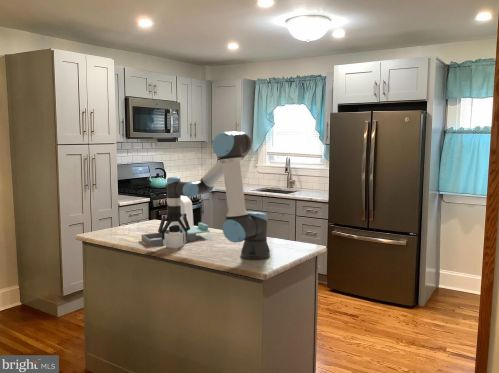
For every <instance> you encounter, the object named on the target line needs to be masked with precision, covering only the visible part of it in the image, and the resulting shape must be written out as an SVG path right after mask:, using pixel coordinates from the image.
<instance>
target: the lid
mask: <svg viewBox="0 0 499 373" xmlns="http://www.w3.org/2000/svg"><path fill="white" fill-rule="evenodd" d="M182 231H184V230H183V229H182ZM187 233H196V235H197V234H201V233H202V234H203V233H204V234H205V233H210V229H209V225H208V224H205V223H203V222H201V221H200V222H197V226H195V227H194V228H190V230H188V231H187Z"/></svg>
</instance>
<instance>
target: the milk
mask: <svg viewBox="0 0 499 373" xmlns="http://www.w3.org/2000/svg"><path fill="white" fill-rule="evenodd" d="M180 206H181V214H183V213H185V214H186V218H187V221H188V224H189V227H190V228H194V213H193V202H192V200H191V198H190V197H187V196H181V204H180ZM180 219H181V221H182V223H183V224H184V226H185V227H186V225H185V222H184V220H183V217H182V216H181V217H180ZM171 225H178V226H180V228H182V227H181V225H180V224H179V222H178V221H177V222H171V223H170V225H169V226H171Z"/></svg>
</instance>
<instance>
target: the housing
mask: <svg viewBox="0 0 499 373" xmlns="http://www.w3.org/2000/svg"><path fill="white" fill-rule="evenodd" d="M182 229H183V228H180V233H182ZM165 234H169V229H167V230H166V232H165ZM140 237H141V241H142V242H143V243H144V242H145V244H146V245H147V246H149V247H150V248H151V246H152V247H157V246H158V245H159V246H164V245H163V239H162V235H161V233H159V232H152V233H145V234H141V236H140ZM194 241H195V242H196V241H197V234H196V233H187V237H186V243H188V242H194Z"/></svg>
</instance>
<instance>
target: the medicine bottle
mask: <svg viewBox="0 0 499 373" xmlns="http://www.w3.org/2000/svg"><path fill="white" fill-rule="evenodd" d="M168 230H169V234H166V246H165V247H166V248H169V247H170V248H171V249H175V248H176V249H178V248H181V247H183V246H184V243H183V234H182V233H180V226H178V225H171V226H169V227H168ZM170 248H169V249H170Z"/></svg>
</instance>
